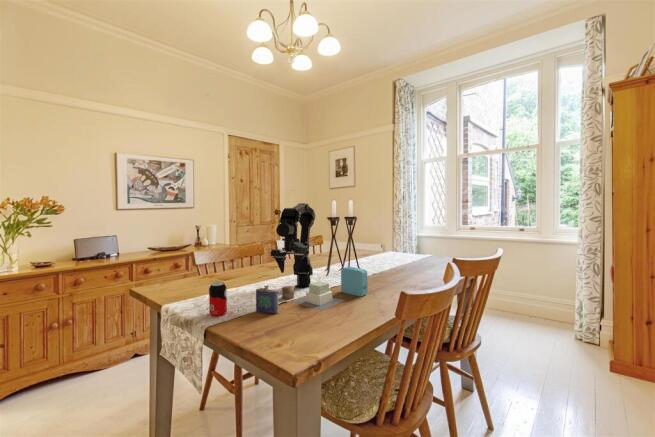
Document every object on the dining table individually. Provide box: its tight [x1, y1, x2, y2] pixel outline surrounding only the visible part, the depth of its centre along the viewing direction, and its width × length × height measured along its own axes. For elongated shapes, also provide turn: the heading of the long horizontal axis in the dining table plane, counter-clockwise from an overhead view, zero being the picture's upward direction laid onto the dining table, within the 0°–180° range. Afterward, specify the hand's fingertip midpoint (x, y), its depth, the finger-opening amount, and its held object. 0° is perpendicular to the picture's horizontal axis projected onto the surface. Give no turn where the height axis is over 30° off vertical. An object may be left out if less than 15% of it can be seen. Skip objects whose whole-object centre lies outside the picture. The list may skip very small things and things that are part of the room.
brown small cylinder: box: [281, 285, 295, 301], centre depth 136 cm, size 5×5×5 cm
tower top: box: [308, 280, 330, 295], centre depth 131 cm, size 6×6×4 cm
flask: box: [255, 284, 279, 315], centre depth 119 cm, size 9×3×11 cm, turn 74°
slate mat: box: [293, 296, 346, 312], centre depth 131 cm, size 16×16×1 cm
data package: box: [340, 266, 368, 297], centre depth 142 cm, size 12×4×12 cm, turn 50°
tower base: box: [305, 290, 333, 306], centre depth 131 cm, size 8×8×4 cm
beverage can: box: [208, 281, 228, 317], centre depth 117 cm, size 6×6×12 cm
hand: (290, 271), depth 135 cm, fingers open, 9 cm apart
